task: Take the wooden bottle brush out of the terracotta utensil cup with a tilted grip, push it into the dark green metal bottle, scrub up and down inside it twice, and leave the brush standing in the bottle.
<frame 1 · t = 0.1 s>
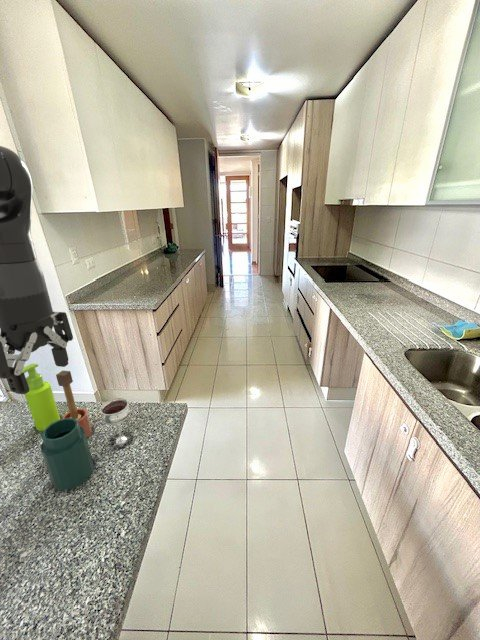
hand: (44, 378, 46), 30 cm above the countertop, tool pointing down, fingers open, 8 cm apart
brush cup: (80, 435, 72), on the countertop
bottle: (74, 474, 61), on the countertop
brush: (79, 434, 72), resting on brush cup
soap dispenser: (47, 426, 76), on the countertop
wineglass: (121, 442, 71), on the countertop
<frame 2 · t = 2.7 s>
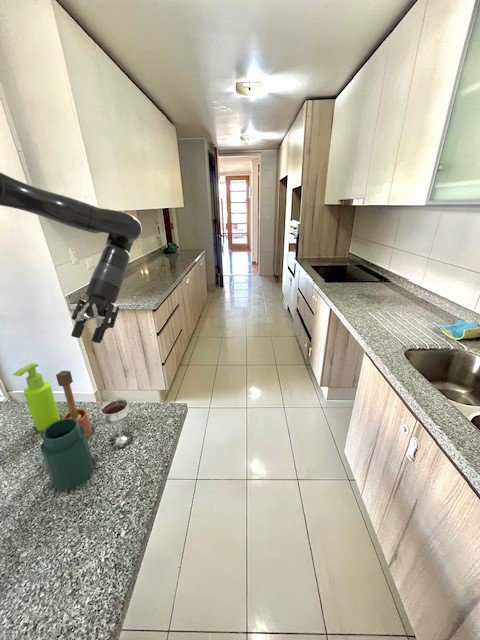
hand: (85, 339, 68), 27 cm above the countertop, tool tilted 35°, fingers open, 8 cm apart
nothing on the countertop moved.
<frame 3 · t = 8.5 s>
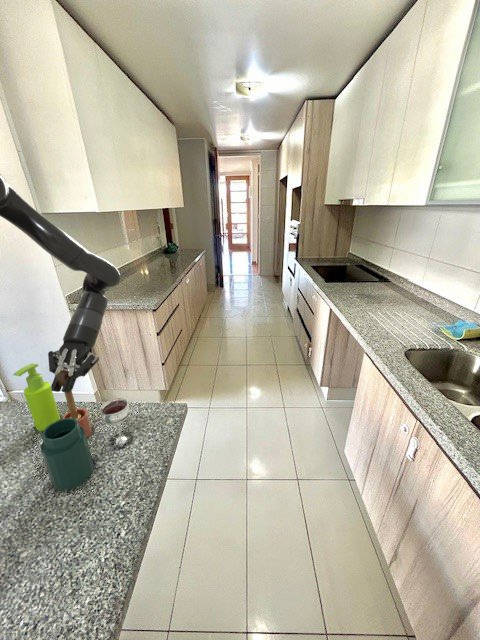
hand: (60, 391, 65), 16 cm above the countertop, tool tilted 45°, fingers closed on brush, 2 cm apart
brush: (79, 434, 72), point 1 cm above the countertop, touching brush cup, gripper
everything else where it was.
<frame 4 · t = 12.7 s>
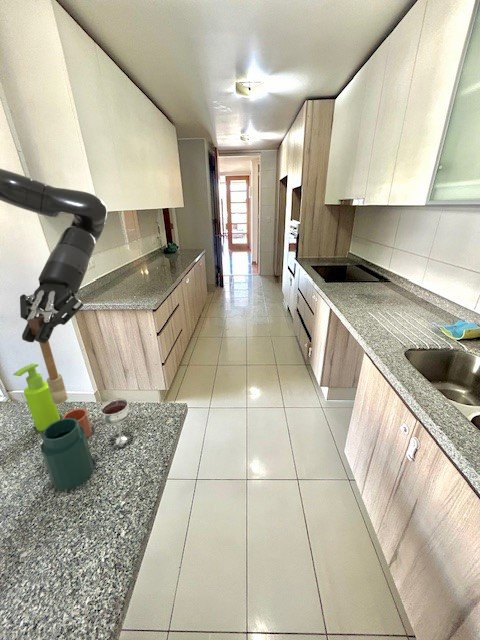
hand: (34, 341, 52), 34 cm above the countertop, tool tilted 45°, fingers closed on brush
brush: (60, 400, 59), point 18 cm above the countertop, touching gripper
everything else where it was.
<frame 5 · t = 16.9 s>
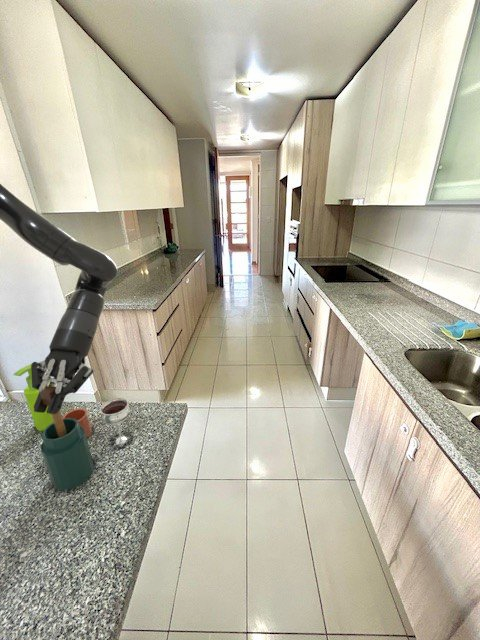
hand: (45, 412, 52), 20 cm above the countertop, tool tilted 45°, fingers closed on brush
brush: (70, 461, 60), point 4 cm above the countertop, touching gripper
everything else where it was.
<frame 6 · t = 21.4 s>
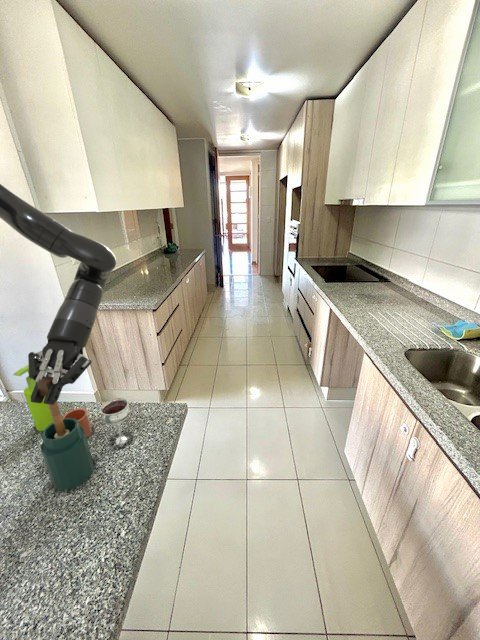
hand: (42, 403, 52), 22 cm above the countertop, tool tilted 45°, fingers closed on brush
brush: (67, 454, 59), point 7 cm above the countertop, touching gripper
everything else where it was.
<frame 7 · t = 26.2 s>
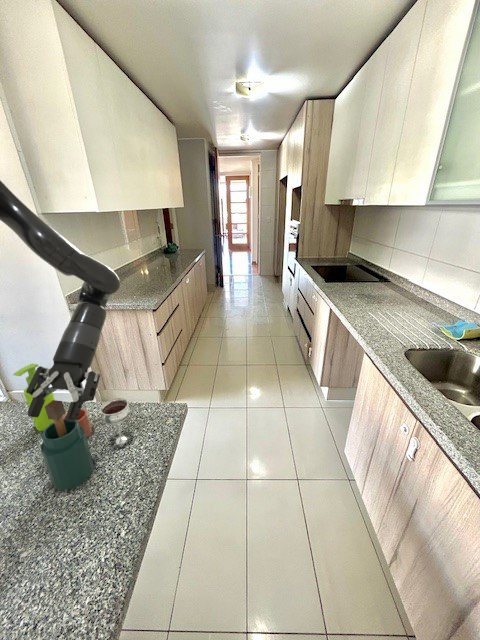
hand: (51, 419, 54), 18 cm above the countertop, tool tilted 45°, fingers open, 8 cm apart
brush: (74, 472, 61), point 1 cm above the countertop, touching bottle
everything else where it was.
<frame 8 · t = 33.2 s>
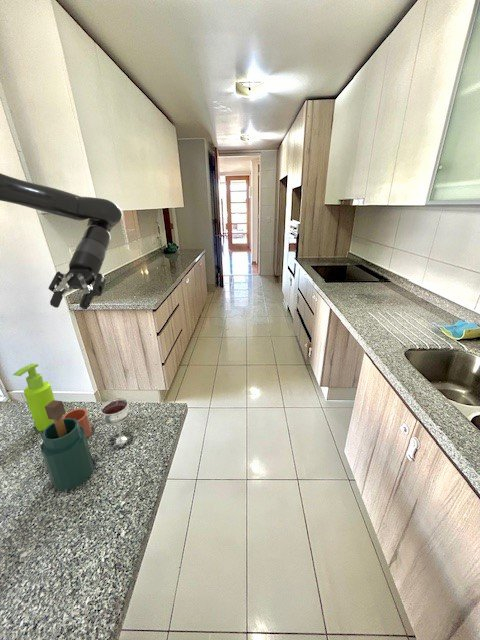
hand: (68, 307, 69), 35 cm above the countertop, tool tilted 45°, fingers open, 8 cm apart
nothing on the countertop moved.
at the end: brush 0.1 cm off-centre in the bottle, point 0.6 cm above the bottle's base; the gripper is holding nothing; brush tilted 0° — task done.
